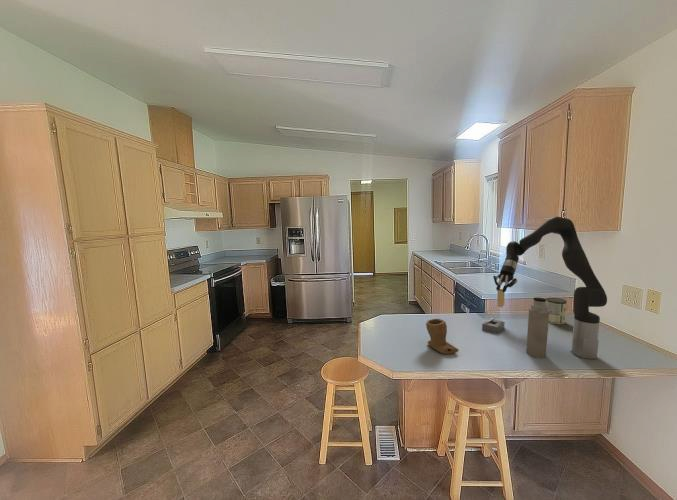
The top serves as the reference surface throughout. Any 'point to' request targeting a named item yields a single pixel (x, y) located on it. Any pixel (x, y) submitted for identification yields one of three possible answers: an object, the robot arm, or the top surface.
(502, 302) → the tall tan rectangular block
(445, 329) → the brown boot-shaped pot
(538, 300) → the thermos bottle
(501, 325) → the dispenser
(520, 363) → the top surface
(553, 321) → the coffee can
